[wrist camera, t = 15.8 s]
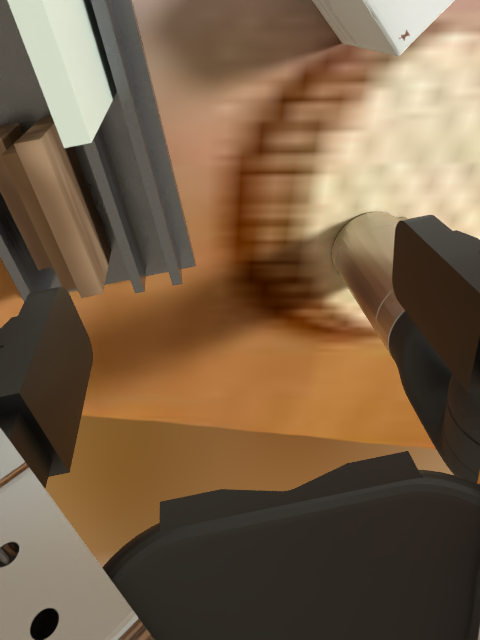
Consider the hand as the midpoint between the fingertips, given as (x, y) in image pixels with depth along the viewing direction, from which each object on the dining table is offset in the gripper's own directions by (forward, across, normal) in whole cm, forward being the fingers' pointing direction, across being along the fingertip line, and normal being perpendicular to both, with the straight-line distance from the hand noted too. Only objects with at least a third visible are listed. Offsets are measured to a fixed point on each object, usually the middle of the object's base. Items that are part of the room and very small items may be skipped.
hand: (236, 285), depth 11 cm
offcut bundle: (+36, +15, +8) cm, 40 cm away
